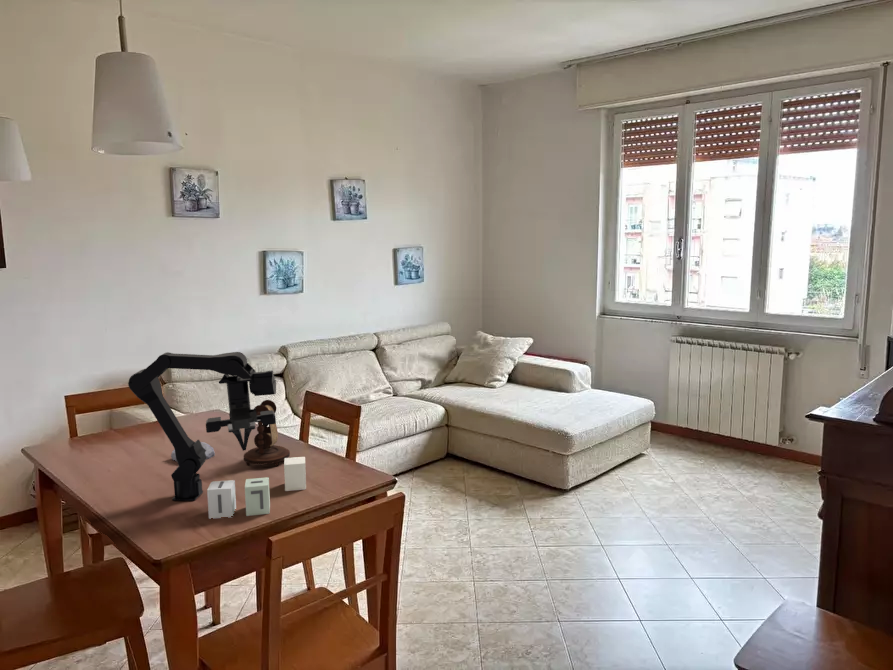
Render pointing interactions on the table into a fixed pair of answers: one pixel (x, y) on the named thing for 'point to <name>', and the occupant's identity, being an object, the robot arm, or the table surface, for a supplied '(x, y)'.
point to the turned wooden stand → (266, 441)
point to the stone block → (206, 446)
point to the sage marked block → (257, 496)
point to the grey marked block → (221, 499)
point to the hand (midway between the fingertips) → (244, 450)
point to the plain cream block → (295, 473)
